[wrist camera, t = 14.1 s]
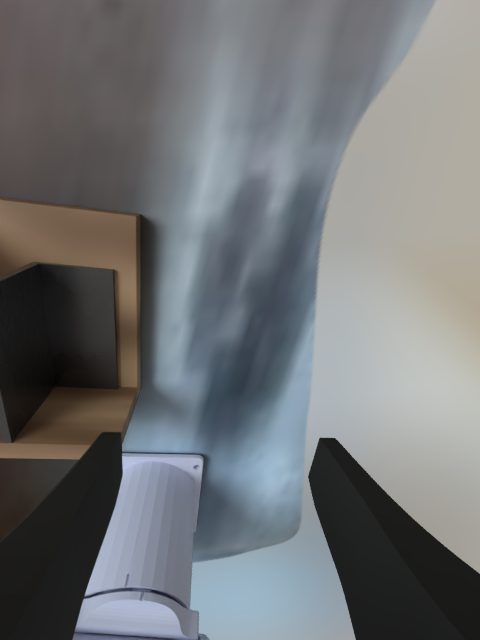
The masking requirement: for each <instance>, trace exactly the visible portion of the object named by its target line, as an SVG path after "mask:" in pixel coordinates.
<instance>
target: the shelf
mask: <svg viewBox="0 0 480 640" xmlns="http://www.w3.org/2000/svg"><path fill="white" fill-rule="evenodd" d="M31 262H44V263H54V264H64V265H75V266H85V267H95V268H106V269H114V277H115V304H116V332H117V359H118V386H119V387H118V389H117V390H116V389H94V388H73V387H55V388H54V389H53V390H52V392H51V393H50V394H49V396H48V397H47V398H46V400H45V401H44V402H43V403H42V405H41V406H40V407H39V409H38V410H37V411H36V413H35V414H34V415H33V416H32V418H31V419H30V420H29V422H28V423H27V424H26V426H25V427H24V428H23V430H22V431H21V432H20V433H19V435H18V436H17V437H16V439H15V440H14V441H13V443H3V441H2V436H1V432H0V458H38V459H80V458H81V457H82V456H83V454H84V453H85V452H86V451H87V449H88V448H89V447H90V446H91V445H92V443H93V442H94V441H95V440H96V438H97V437H98V436H99V434H101V433H102V432H121V440H122V443H123V440H124V437H125V434H126V431H127V429H128V426H129V423H130V420H131V417H132V414H133V411H134V408H135V405H136V402H137V399H138V396H139V393H140V390H141V214H134V213H126V212H117V211H109V210H101V209H93V208H84V207H76V206H68V205H60V204H52V203H43V202H35V201H27V200H19V199H10V198H2V197H0V276H1V275H4V274H6V273H8V272H11V271H13V270H15V269H18V268H20V267H22V266H25V265H27V264H29V263H31Z"/></svg>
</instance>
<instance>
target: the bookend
mask: <svg viewBox="0 0 480 640" xmlns="http://www.w3.org/2000/svg"><path fill="white" fill-rule="evenodd" d="M55 387H73V388H94V389H116V390H117V389H118V387H119V386H118V359H117V332H116V304H115V277H114V269H106V268H95V267H85V266H75V265H64V264H54V263H44V262H31V263H29V264H27V265H25V266H22V267H20V268H18V269H15V270H13V271H11V272H8V273H6V274H4V275H1V276H0V432H1V436H2V441H3V443H13V441H14V440H15V439H16V437H17V436H18V435H19V433H20V432H21V431H22V430H23V428H24V427H25V426H26V424H27V423H28V422H29V420H30V419H31V418H32V416H33V415H34V414H35V413H36V411H37V410H38V409H39V407H40V406H41V405H42V403H43V402H44V401H45V400H46V398H47V397H48V396H49V394H50V393H51V392H52V390H53V389H54V388H55Z"/></svg>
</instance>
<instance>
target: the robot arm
mask: <svg viewBox="0 0 480 640" xmlns="http://www.w3.org/2000/svg"><path fill="white" fill-rule="evenodd" d="M196 465H198V466H196ZM202 471H203V457H202V456H201V455H184V454H135V453H122V440H121V432H102V433H101V434H99V436H98V437H97V438H96V440H95V441H94V442H93V443H92V445H91V446H90V447H89V448H88V449H87V451H86V452H85V453H84V454H83V456H82V457H81V458H80V459H79V460H78V461H77V463H76V464H75V465H74V466H73V467H72V468H71V470H70V471H69V472H68V473H67V474H66V475H65V476H64V477H63V478H62V480H61V481H60V482H59V483H58V484H57V485H56V486H55V487H54V488H53V489H52V491H51V492H50V493H49V494H48V495H47V496H46V497H45V498H44V499H43V500H42V501H41V502H40V503H39V504H38V505H37V506H36V507H35V508H34V509H33V510H32V511H31V512H30V513H29V514H28V515H27V516H26V517H25V518H24V519H23V520H22V521H21V522H20V523H19V524H18V525H17V526H16V527H15V528H14V529H13V530H12V531H11V532H9V533H8V534H7V535H6V536H5V537H4V538H3V539H2V540H1V541H0V640H209V638H208V637H207V636H206V635H204V634H198V625H199V623H198V622H199V612H198V611H193V610H190V597H191V577H192V556H193V534H194V532H195V531H196V526H197V517H198V508H199V499H200V489H201V480H202ZM308 478H309V482H310V487H311V491H312V496H313V500H314V505H315V508H316V511H317V514H318V517H319V520H320V523H321V526H322V529H323V531H324V534H325V537H326V540H327V543H328V546H329V549H330V552H331V555H332V558H333V561H334V563H335V566H336V569H337V572H338V575H339V578H340V581H341V585H342V588H343V591H344V594H345V599H346V602H347V606H348V610H349V614H350V618H351V622H352V626H353V629H354V634H355V638H356V640H480V574H479V573H478V572H476V571H475V570H474V569H473V568H471V567H470V566H469V565H468V564H466V563H465V562H464V561H462V560H461V559H460V558H459V557H457V556H456V555H455V554H454V553H452V552H451V551H450V550H449V549H447V548H446V547H445V546H444V545H443V544H441V543H440V542H439V541H438V540H437V539H435V538H434V537H433V536H432V535H431V534H430V533H428V532H427V531H426V530H425V529H424V528H423V527H421V526H420V525H419V524H418V523H417V522H416V521H415V520H414V519H413V518H412V517H411V516H409V515H408V514H407V513H406V512H405V511H404V510H403V509H402V508H401V507H400V506H399V505H398V504H397V503H396V502H395V501H394V500H393V499H392V498H391V497H390V496H389V495H388V494H387V493H386V492H385V491H384V490H383V489H382V488H381V487H380V486H379V485H378V484H377V483H376V482H375V481H374V480H373V479H372V478H371V477H370V475H369V474H368V473H367V472H366V471H365V470H364V469H363V468H362V467H361V466H360V465H359V464H358V463H357V461H356V460H355V459H354V458H353V457H352V456H351V455H350V454H349V453H348V452H347V450H346V449H345V448H344V447H343V446H342V445H341V444H340V443H339V442H338V441H337V440H336V439H335V438H320V439H319V442H318V446H317V449H316V452H315V456H314V459H313V462H312V466H311V469H310V472H309V476H308Z"/></svg>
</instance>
